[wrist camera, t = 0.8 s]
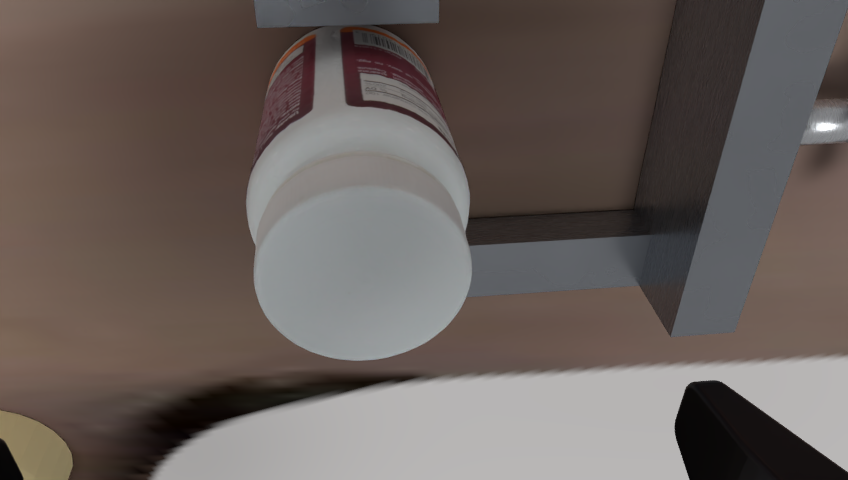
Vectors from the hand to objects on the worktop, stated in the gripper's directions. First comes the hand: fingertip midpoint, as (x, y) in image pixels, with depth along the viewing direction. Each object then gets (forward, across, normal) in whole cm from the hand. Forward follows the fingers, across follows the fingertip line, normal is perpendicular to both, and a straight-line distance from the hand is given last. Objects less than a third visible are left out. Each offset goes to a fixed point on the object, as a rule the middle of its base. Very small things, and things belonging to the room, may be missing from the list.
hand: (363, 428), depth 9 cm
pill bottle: (+12, 0, 0) cm, 12 cm away
